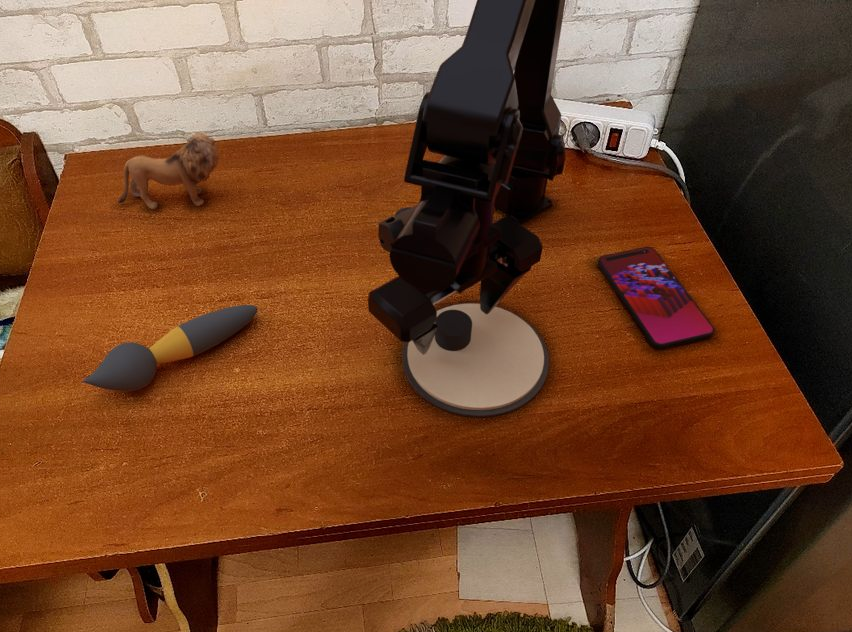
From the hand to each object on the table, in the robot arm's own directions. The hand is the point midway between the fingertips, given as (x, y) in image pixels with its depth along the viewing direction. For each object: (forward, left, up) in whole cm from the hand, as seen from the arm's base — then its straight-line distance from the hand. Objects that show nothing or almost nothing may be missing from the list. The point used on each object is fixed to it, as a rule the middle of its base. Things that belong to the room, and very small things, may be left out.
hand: (453, 331), depth 75 cm
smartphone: (-23, +10, -2) cm, 25 cm away
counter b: (-9, -18, -2) cm, 20 cm away
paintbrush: (+24, -18, -2) cm, 30 cm away
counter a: (0, 0, -1) cm, 1 cm away
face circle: (-1, +3, -2) cm, 4 cm away
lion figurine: (+11, -44, -2) cm, 46 cm away
